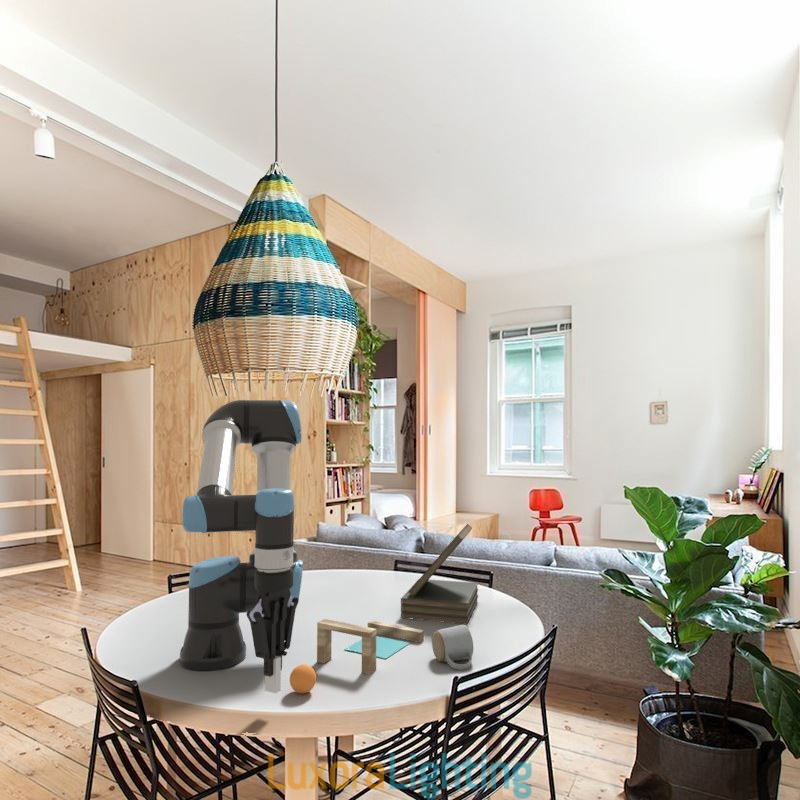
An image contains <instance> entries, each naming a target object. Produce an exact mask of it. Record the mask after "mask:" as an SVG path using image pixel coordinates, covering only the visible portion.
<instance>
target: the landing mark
mask: <svg viewBox="0 0 800 800" xmlns="http://www.w3.org/2000/svg"><path fill="white" fill-rule="evenodd" d="M409 643H410V642H408V641H403V640H398V639H393V638H387V637H383V636H382V637H381V636H378V635H376V658H378V659H382V658H383V660H387V659H389V658H391V656H393V655H395V654H396V653H398V652H400V650H403V649H404V648H405V647H407V646H408V645H410V644H409ZM348 648H349V650H350V651H349V652H351V651H354V652H353V653H355V652H358V653H357V654H360V653H362V638H361V639H360V640H358V641H356V642H355V643H353V644H351V645H349V646H348ZM348 648H347V647H345V648H344V649H345V650H344V651H346V649H348Z"/></svg>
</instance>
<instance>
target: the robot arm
mask: <svg viewBox="0 0 800 800" xmlns="http://www.w3.org/2000/svg"><path fill="white" fill-rule="evenodd" d="M301 428H302V424H301V417H300V412H299V409H298V405H297V403H295V402H294V401H292V400H281V399H277V400H269V399H267V400H265V399H263V400H258V399H256V400H254V399H249V400H248V399H246V400H245V399H237V400H232V401H229V402H227V403H224V404H223V405H221V406H220V407H218V408H217V409H216V410H214V412H212V413H211V415H210V416H209V417H208V418H207V419H206V421H205V423H204V425H203V428H202V433H201V439H202V442H203V444H204V447H203V454H202V459H201V463H200V464H201V465H200V471H199V477H198V482H197V488H196V489H197V490H196V494H194V495H190V496H186V497H185V498H184V500H183V503H182V516H181V517H182V527H183V529H184V531H185V532H187V533H202V534H206V533H221V532H223V533H225V532H226V533H227V532H254V531H255V534H254V535H255V536H254V537H255V538H254V539H255V542H254V543H255V544H254V549H253V551H251V553H250V554H249V555H248V556H249V559H248V561H249V562H241V559H240V557H239V556H237V555H223V556H222V555H221V556H218V557H211V558H207V559H205V560H202V561H200V562H198V563H195V564H194V565H193V566H191V569H190V571H189V578H188V584H187V588H188V616H187V617H188V621H187V626H188V627H187V631H186V633H185V637H184V640H183V645H182V647H181V649H180V651H179V663H180V666H182V667H183V668H185V669H189V670H194V671H215V670H221V669H225V668H226V669H227V668H229V667H230V668H231V667H233V666H235V665H237V664H239V663H241V662H242V661H244V660H245V658H246V656H247V645H246V642H245V641H244V636H243V632H242V629H241V625H240V613H241V614H244V613H246V617H247V619H248V621H249V623H250V629H251V634H252V635H251V636H252V641H253V648H254V653H255V658H260V659H263V675H264V691H265V692H268V693H272V694H277V693H279V692H280V691H282V690H281V689H282V688H281V687H282V685H281V684H282V682H281V679H282V676H281V675H282V672H281V671H282V670H283V669H282V668H283V656H284V657H286V656H287V655H288V651H285V650H289V649H290V647H291V642H292V635H293V628H294V621H295V616H296V614H295V613H296V610H297V607H298V604H299V600H300V594H301V587H302V578H303V568H304V567H303V565H304V562H303V559H302V560H301V559H298V553H297V551H296V550H295V549H294V533H295V531H294V527H295V508H296V505H295V496H294V495H295V494H294V491H293V490H291V488H292V487H291V456H292V454H293V453H294V452H296V449H297V445H299V444H301V443H302V429H301ZM240 444H248V445H249V444H251V451H252V452H253V453H254V454H255V455H256V466H257V467H256V494H240V495H239V494H233V491H234V490H233V489H234V479H235V477H234V476H235V468H236V467H235V465H236V454H237V448H238V447H239V445H240Z"/></svg>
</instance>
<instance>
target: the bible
mask: <svg viewBox="0 0 800 800" xmlns="http://www.w3.org/2000/svg"><path fill="white" fill-rule="evenodd" d="M472 529H473V527H472V526H471V525H470V524H469V523H466V524H465V526H464V527H463V528H462V529H461V530H460V531H459V533H458V534H456V535H455V537H454V538H453V540H451V542H450V543H449V544H448V545H447V546H446V548H445V549H444V550H443V551H442V552H441V553H440V554H439V556H438V557H437V558H436V559H435V560H434V562H433V563H432V564H431V565H430V566H429V567H428V568H427V570H425V572H424V573H423V574H422V575H421V576H420V578H418V579H417V581H416V582H415V583H414V584H413V585H412V586H411V587H410V588H409V589H408V590H407V591H406V593H405V594H404V595H402V596H401V598H400V619H401V618H402V619H405V618H413V619H412V620H416V619H423V620H422V621H428V620H432V621H431V622H440V621H444V622H443V623H451V622H454V623H453V624H463V623H465V624H464V625H468V623H469V621H470V619H471V617H470V616H472V615H471V614H473V612H474V610H475V608H476V606H477V603H478V598H479V595H478V591H479V588H478V584H479V582H469V581H456V580H454V581H453V580H443V579H430V578H432V576H433V575H434V574H436V572H437V571H438V569H439V568H440V567H441V566H442V565H443V564H444V562H445V561H446V560H447V559H448V558H449V556H450V555H451V554H452V553H453V552H454V551H455V549H457V547H458V546H459V545H460V544H461V543H462V542H463V540H464V539H465V538H466V537H467V536H468V535H469V533H470V532H471V531H472Z"/></svg>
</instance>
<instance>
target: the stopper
mask: <svg viewBox="0 0 800 800" xmlns="http://www.w3.org/2000/svg"><path fill="white" fill-rule="evenodd" d="M367 627H369V628H374V629H376V635H381V636H385V637H386V636H387V637H390V636H391V637H390V638H395V637H396V638H395V639H400V638H401V639H400V640H405V639H406V641H410V640H412V641H411V642H415V641H417V642H416V643H422V642H423V641H424V640H425V639H424V638H425V637H424V636H425V634H424V633H425V630H424V629H423V630H422V629H419V628H418V629H417V628H413V627H407V626H402V625H397V624H391V623H387V622H380V621H376V620H369V621H367ZM421 641H422V642H421Z"/></svg>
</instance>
